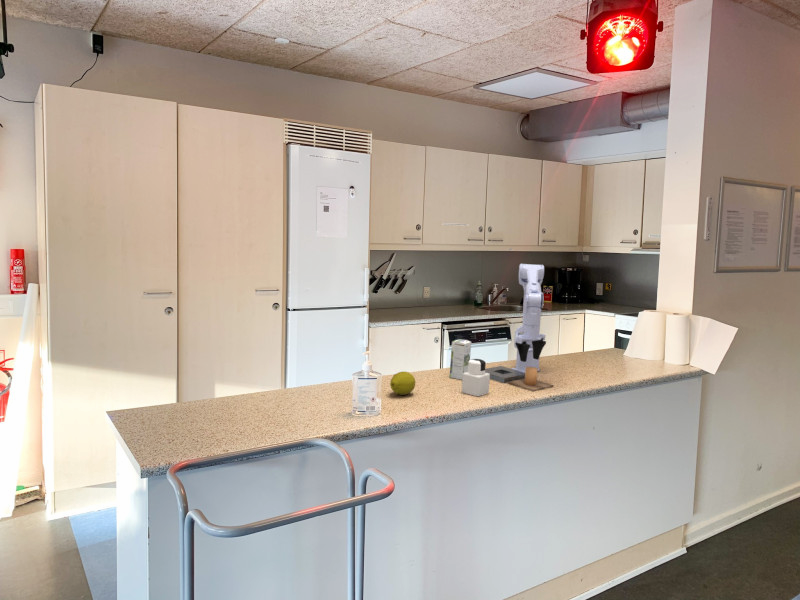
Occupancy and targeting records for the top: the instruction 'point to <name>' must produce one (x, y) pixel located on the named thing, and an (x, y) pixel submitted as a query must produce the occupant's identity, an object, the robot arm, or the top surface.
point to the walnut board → (538, 385)
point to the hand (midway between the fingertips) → (529, 360)
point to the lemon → (402, 383)
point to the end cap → (531, 375)
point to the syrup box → (459, 358)
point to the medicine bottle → (476, 378)
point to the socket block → (504, 374)
